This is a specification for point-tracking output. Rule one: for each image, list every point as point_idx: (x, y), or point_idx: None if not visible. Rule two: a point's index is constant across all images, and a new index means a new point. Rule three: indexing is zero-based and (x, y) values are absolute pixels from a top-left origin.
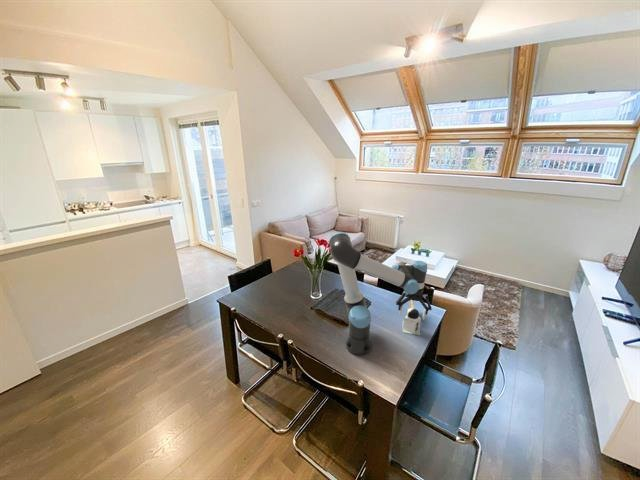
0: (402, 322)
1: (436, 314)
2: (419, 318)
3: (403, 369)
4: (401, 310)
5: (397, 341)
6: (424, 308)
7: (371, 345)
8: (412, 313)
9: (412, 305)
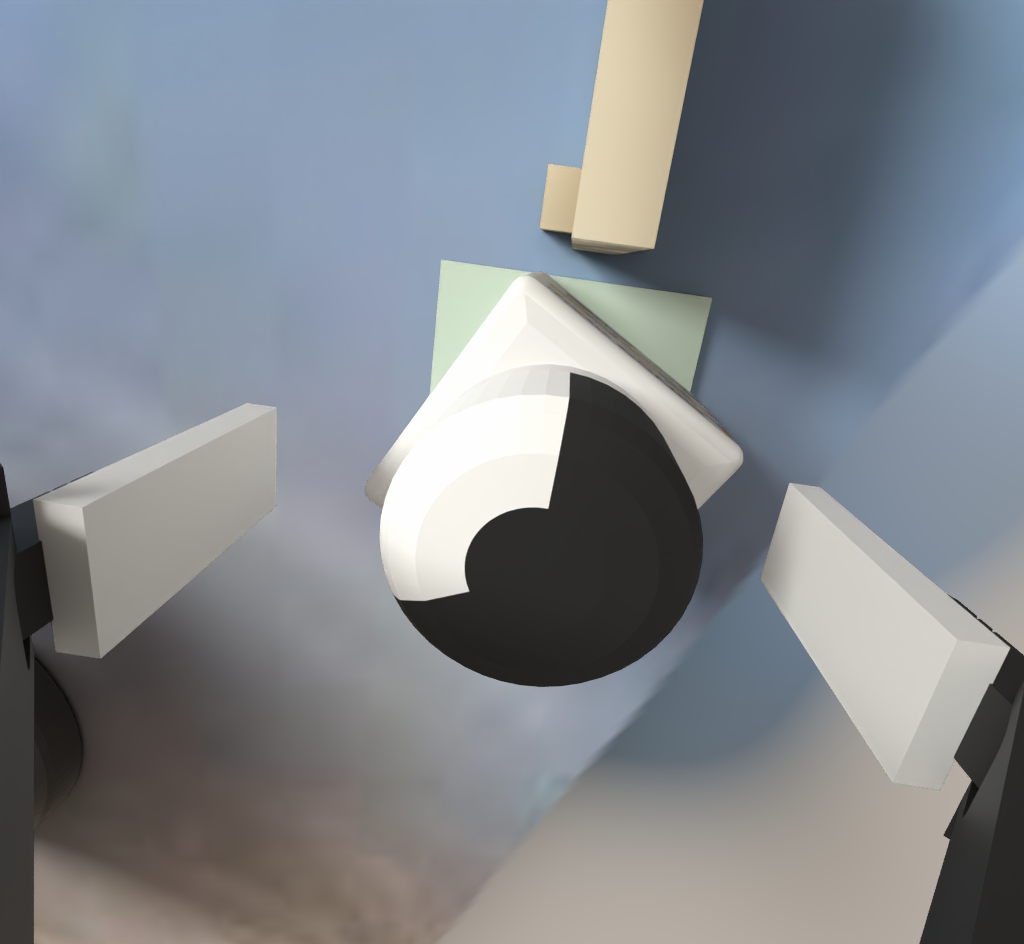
0: (440, 283)
1: None
2: (702, 489)
3: (379, 934)
4: (184, 579)
5: (344, 651)
6: (948, 670)
7: (43, 791)
8: (487, 668)
9: (630, 62)
